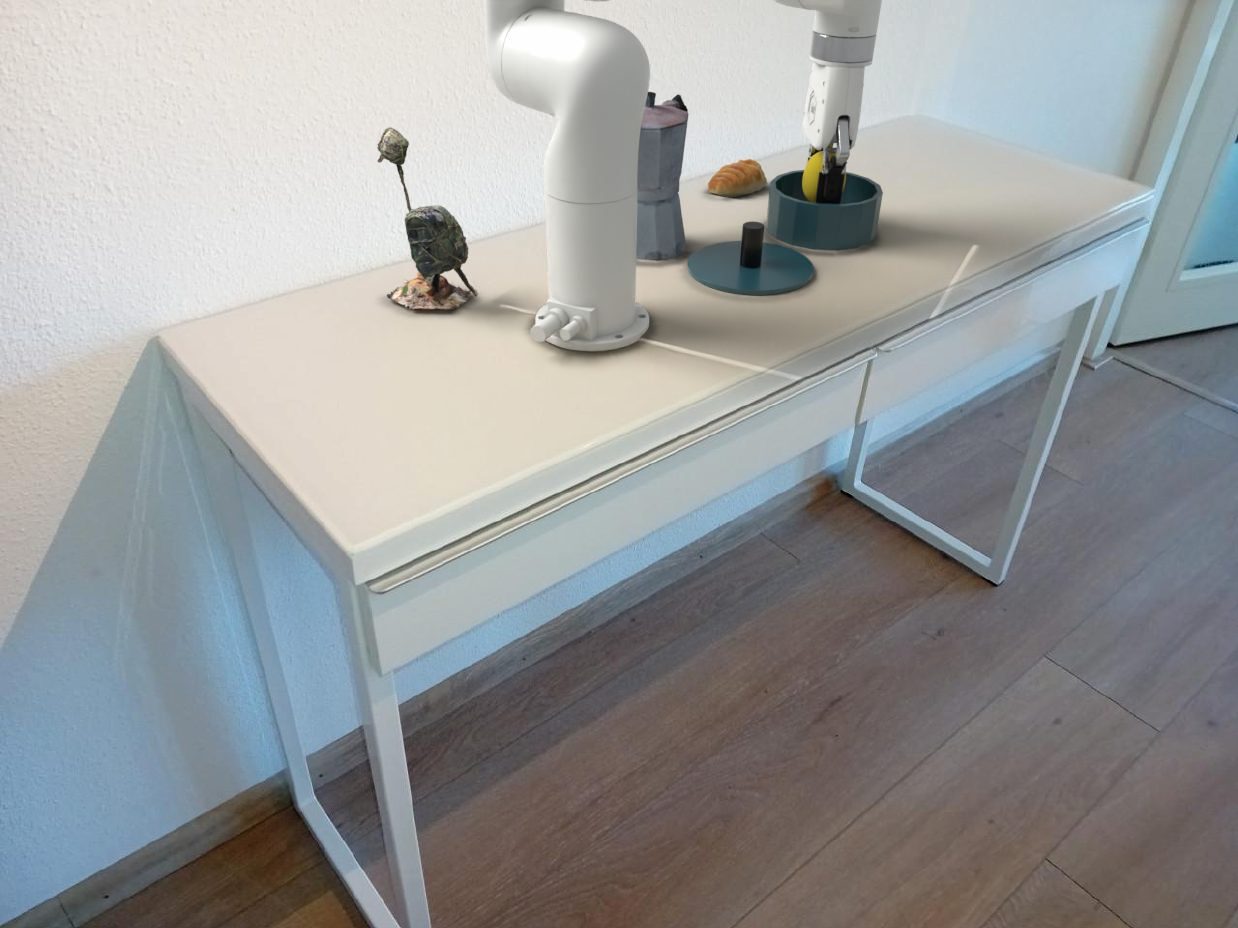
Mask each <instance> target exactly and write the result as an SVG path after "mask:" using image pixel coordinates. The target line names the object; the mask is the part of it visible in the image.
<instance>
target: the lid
mask: <svg viewBox="0 0 1238 928" xmlns="http://www.w3.org/2000/svg"><path fill="white" fill-rule="evenodd" d="M764 234H765V224H764V223H763V222H759V221H746V222H744V223H742V229H741V240H730V241H724V242H722V241H721V242H716V243H712V244H708V245H705V246H703V247H700V248H698V249H697V250H695V251H694V252H693V253H692V254H690V255H689V257H688V259H687V264H686V266H687V268H686V269H687V272H688V273H689V275H690V276H691V277H692V278H693V279H694V280H695V281H697V282H698V283H700V284H701V285H704V286H706V287H708V288H712V289H714V290H717V291H720V292H726V293H730V294H737V295H745V296H746V295H747V296H770V295H779V294H784V293H788V292H792V291H795V290H797V289H800V288H802V287H805V285H807V284H808V283H809V282H811V280H812V278H813V276H814V271H815V270H814V264H813V263H812V261H811V260H810V259H809V258H808V257H807V256H805V254H803V253H801V252H799V251H798V250H796V249H792V248H790V247H788V246H784V245H781V244H777V243H771V242H765V241H764V236H765V235H764Z"/></svg>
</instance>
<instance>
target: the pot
mask: <svg viewBox="0 0 1238 928" xmlns="http://www.w3.org/2000/svg"><path fill="white" fill-rule="evenodd" d="M804 170H805V169H798V170H792V171H791V170H790V171H788V172H785V173H781V174H778V175H777V176H775V177H774V178H772V179H771V181H769V191H768V201H767V212H766V213H767V214H766V223H765V226H766V232H767V233H768V234H770V236H772V237H773V238H774V239H775V240H777V241H780V242H782V243H784V244H787V245H790V246H793V247H797V248H803V249H809V250H813V251H844V250H851V249H858V248H860V247H863V246H865V245H868V244H870V243H872V241H873V240H874V239H875V238H876V236H877V233H878V226H879V219H880V213H881V208H882V207H881V206H882V202H883V194H884V191H883V189H882V187H881V185H880V184H879V183H877V182H876V181H874V180H873V179H870V178H869V177H867V176H866V177H865V176H862V175H860V174H856V173H853V172H847V171H846V182H845V187H844V190H843V192H842V196H841V202H840V204H819V203H813V202H810V201H809V200H808V199H807V198H806V196H805V195H804V192H803V187H802V179H803V174H804Z"/></svg>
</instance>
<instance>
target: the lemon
mask: <svg viewBox="0 0 1238 928" xmlns="http://www.w3.org/2000/svg"><path fill="white" fill-rule="evenodd" d="M832 156H835V153H829V161H830V159H831V157H832ZM822 162H823V151H820V152H818V153H816V154H814V155H813V156H812V157H811V158H810V159H809V161H808V160H807V162H806V165H805V166H804V169H803V170H804V174H803V179H802V187H803V192H804V195H805V196H806V198H807V199H808V200H809V201H810V202H813V203H816V201H815V199H816V191H817V184H818V177H819V172H822ZM846 172H847V171H846ZM846 172H845V177H844V183H843V190H844V187H845V182H846ZM843 190H842V192H843Z"/></svg>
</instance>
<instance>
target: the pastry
mask: <svg viewBox="0 0 1238 928" xmlns="http://www.w3.org/2000/svg"><path fill="white" fill-rule="evenodd" d="M767 182H768V179H767V177H766V175H765V171H764V170H763V169H762V165H761V164H760V163H759V162H757V161H756V160H755V159H751V158H748V159H744V160H743V159H739V160H738V161H737V162H732V163H730V164H725V165H723V166H722V167H720V169H719V170H718V171H717V172H716V173H714V174H713V176H712V177H711V178H710V180H709V181H708V183H707V185H708V194H710V193H712V194H715V195H718V196H721V197H726V198H729V199H730V198H735V197H742V196H745V195H751V194H753V193H755V192H759V191H761V190H762V189H763V188H764V187H765V185H766V184H767Z"/></svg>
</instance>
